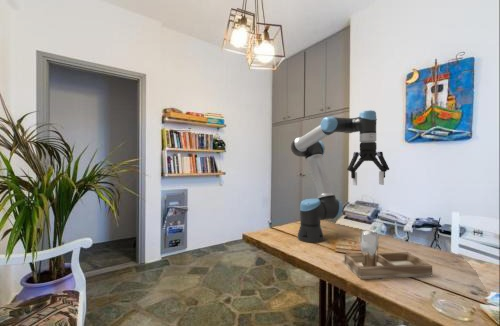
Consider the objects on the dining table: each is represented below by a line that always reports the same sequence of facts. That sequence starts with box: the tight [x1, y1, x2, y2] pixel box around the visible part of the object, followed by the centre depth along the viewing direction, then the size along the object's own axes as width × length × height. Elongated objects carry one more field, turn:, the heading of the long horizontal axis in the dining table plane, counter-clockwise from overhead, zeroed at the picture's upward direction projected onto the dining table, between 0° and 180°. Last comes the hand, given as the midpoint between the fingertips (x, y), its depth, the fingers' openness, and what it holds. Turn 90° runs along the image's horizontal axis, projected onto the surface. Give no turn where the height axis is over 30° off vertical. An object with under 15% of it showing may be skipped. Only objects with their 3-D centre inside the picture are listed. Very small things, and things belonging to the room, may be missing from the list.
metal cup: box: [360, 229, 380, 267], centre depth 103 cm, size 7×7×15 cm
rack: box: [344, 251, 433, 280], centre depth 103 cm, size 14×30×4 cm, turn 93°
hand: (368, 184), depth 120 cm, fingers open, 13 cm apart
